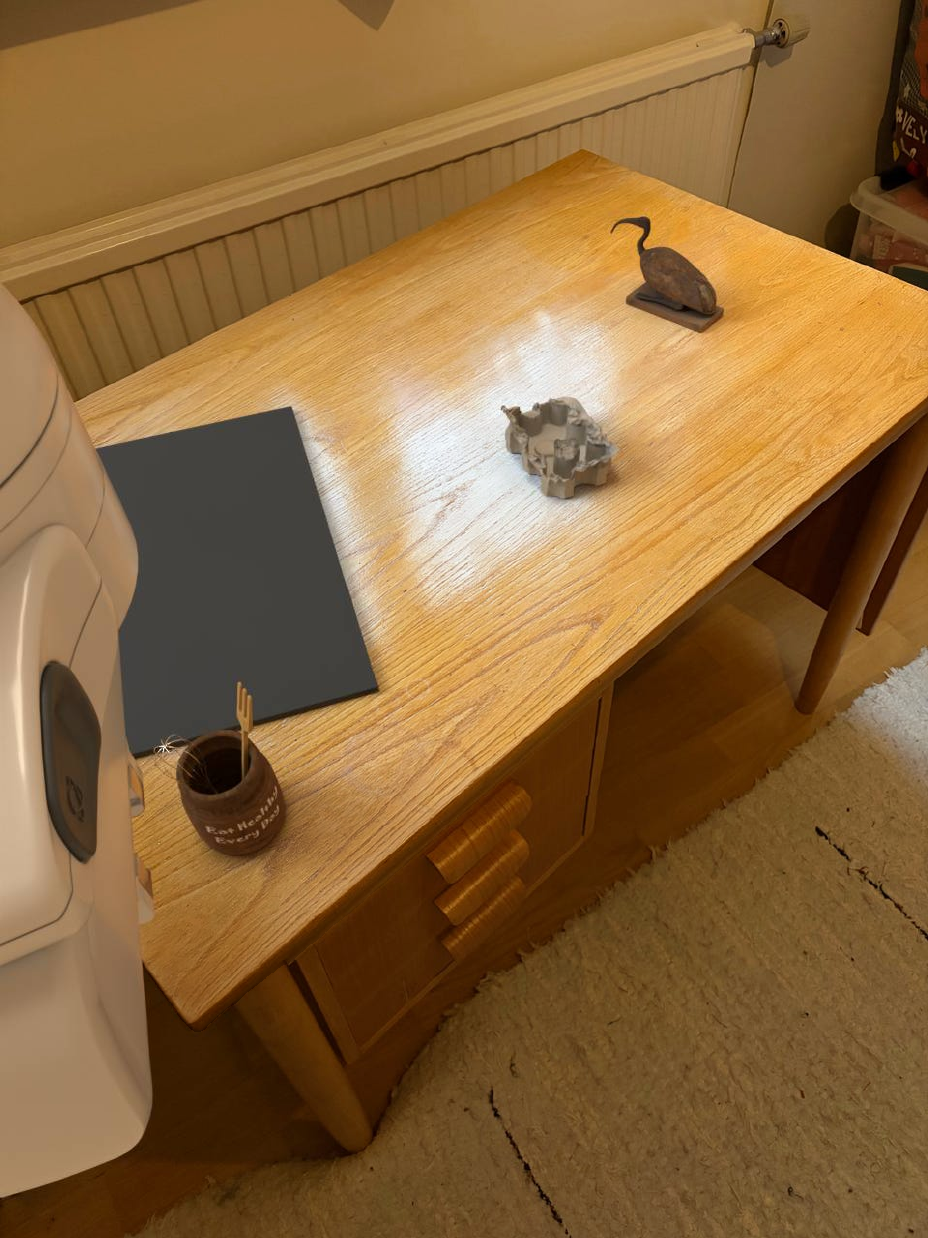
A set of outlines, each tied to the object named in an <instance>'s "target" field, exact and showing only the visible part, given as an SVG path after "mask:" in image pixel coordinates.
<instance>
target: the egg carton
mask: <svg viewBox="0 0 928 1238" xmlns="http://www.w3.org/2000/svg"><path fill="white" fill-rule="evenodd" d="M500 411H502V414H503V413H504V414H505V415H506V419H507V420H509V423H508V425H507V427H506V429H505V432H504V440H505V447H506V450H507V452H509V453H511V454H513V453H514V454H521V460H522V462H521V465H522V470H525V472H527V474H528V475H537V476H538V475H539V476H541V480H540V482H541V483H540V491H541V492H542V494H543V495H544V496H545V497H552V496H553V497H558V498H561V499H567V498H571V497H574V496H575V494H574V493H575V487H576V486H577V485H582V484H586V485H587V484H589V485H594V486H595V487H598V486H601V485H604V484H606V483H607V477H608V474H610V472H611V467H612V460H613V459H612V458H613V456H615V454H617V453H618V452H619V451H620V450H621V448H620V447H619V446H618V445H616V444H615V443H614V442H613V441H611V440H609V438H608V435H607V434H605V433H604V431H603V428H602V426H601V425H599V424H598V423H597V422H596V421H595V420H594V418H592V416H590V415H589V414H588V413H587V411H586V409H585V408H584V406H583V405H582V404H581V402H580V401H579V400H578V399H577V398H575V397H573V396H561V397H558V398H549V399H548V400H547V401H546V402H544V403H539V402H535V403H534V404H533V405H532V408H531V409H530V410H527V411H525V412H523V411H522V410H521V407H520V406H515V405H514V406H512V407H509V408H508V407H506V405H502V406H501V407H500Z"/></svg>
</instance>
